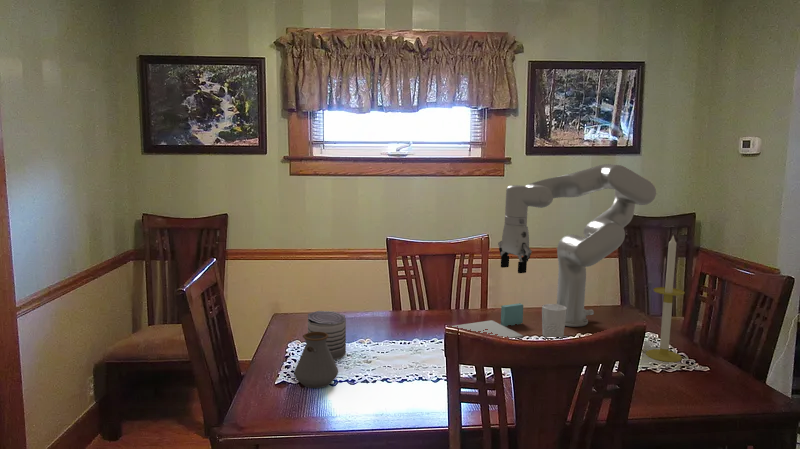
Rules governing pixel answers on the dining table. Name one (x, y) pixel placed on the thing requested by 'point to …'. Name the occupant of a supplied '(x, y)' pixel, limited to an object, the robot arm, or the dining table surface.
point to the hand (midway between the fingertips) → (513, 270)
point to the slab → (511, 314)
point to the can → (330, 330)
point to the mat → (490, 328)
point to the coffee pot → (316, 362)
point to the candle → (667, 310)
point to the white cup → (553, 320)
